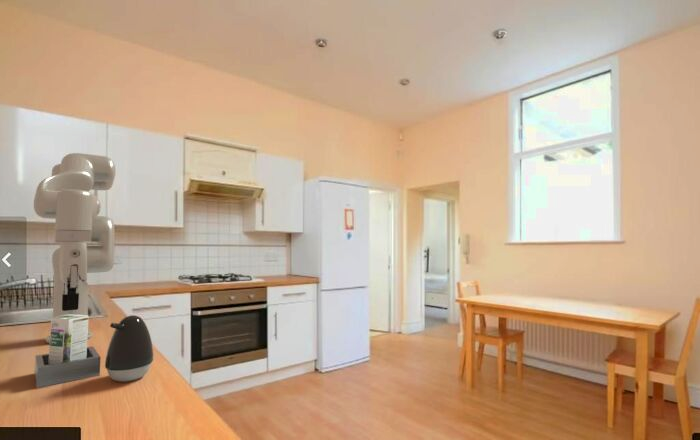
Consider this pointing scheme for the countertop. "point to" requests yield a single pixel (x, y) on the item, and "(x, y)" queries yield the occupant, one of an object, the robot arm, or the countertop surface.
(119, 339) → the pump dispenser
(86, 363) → the gray square open frame
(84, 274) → the robot arm
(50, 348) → the syrup box
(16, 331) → the countertop surface
